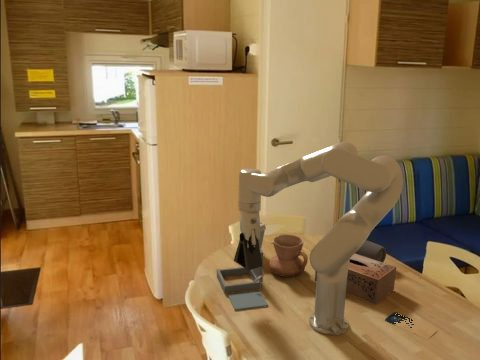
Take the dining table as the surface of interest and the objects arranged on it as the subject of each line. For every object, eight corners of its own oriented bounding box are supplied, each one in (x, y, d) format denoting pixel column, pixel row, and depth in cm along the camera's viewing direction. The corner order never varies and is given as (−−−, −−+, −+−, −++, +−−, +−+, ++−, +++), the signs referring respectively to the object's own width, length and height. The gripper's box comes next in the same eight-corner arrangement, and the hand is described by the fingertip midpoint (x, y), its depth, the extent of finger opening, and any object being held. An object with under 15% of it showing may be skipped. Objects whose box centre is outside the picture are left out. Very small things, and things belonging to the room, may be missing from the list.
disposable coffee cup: (238, 251, 204) (238, 219, 200) (260, 248, 207) (261, 217, 203) (245, 260, 194) (245, 228, 190) (268, 257, 197) (269, 225, 194)
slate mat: (268, 306, 159) (268, 304, 159) (234, 310, 156) (234, 309, 156) (259, 292, 168) (259, 291, 168) (228, 296, 165) (228, 294, 165)
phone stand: (262, 266, 157) (264, 234, 153) (248, 270, 153) (249, 237, 150) (247, 257, 164) (248, 226, 160) (233, 260, 160) (234, 229, 157)
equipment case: (263, 290, 170) (264, 253, 166) (225, 295, 166) (225, 257, 162) (251, 271, 185) (252, 237, 181) (216, 275, 181) (216, 240, 177)
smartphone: (427, 340, 141) (383, 319, 151) (427, 341, 141) (383, 321, 151) (438, 330, 146) (395, 311, 156) (438, 331, 146) (394, 312, 157)
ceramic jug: (259, 270, 186) (260, 238, 182) (282, 259, 196) (284, 229, 192) (293, 286, 173) (295, 253, 169) (316, 274, 183) (318, 242, 179)
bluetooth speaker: (328, 254, 202) (330, 233, 199) (341, 248, 208) (342, 228, 206) (373, 271, 186) (375, 249, 183) (385, 265, 192) (388, 243, 189)
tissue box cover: (393, 291, 171) (396, 266, 169) (375, 305, 161) (378, 280, 158) (334, 269, 188) (336, 247, 185) (314, 281, 178) (316, 258, 175)
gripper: (267, 212, 146) (265, 264, 151) (253, 197, 161) (252, 245, 166) (245, 213, 144) (244, 266, 149) (233, 198, 159) (232, 247, 164)
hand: (248, 255), depth 157 cm, fingers closed on phone stand, 2 cm apart
